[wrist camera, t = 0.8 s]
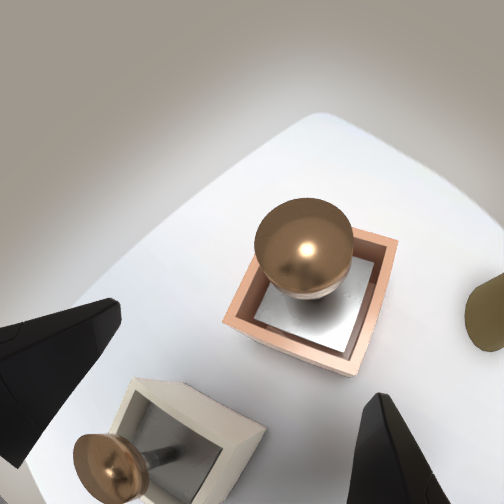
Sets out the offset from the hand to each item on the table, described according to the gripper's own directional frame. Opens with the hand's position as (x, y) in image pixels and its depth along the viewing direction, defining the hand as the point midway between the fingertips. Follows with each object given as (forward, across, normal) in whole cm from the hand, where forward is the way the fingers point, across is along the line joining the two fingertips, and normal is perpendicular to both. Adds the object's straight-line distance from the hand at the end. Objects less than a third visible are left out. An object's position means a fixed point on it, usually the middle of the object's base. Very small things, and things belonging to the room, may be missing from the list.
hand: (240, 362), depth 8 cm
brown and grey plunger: (+10, -3, +3) cm, 11 cm away
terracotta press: (+13, -4, +6) cm, 14 cm away
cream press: (+4, +1, +16) cm, 17 cm away
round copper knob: (+1, +2, +13) cm, 14 cm away
